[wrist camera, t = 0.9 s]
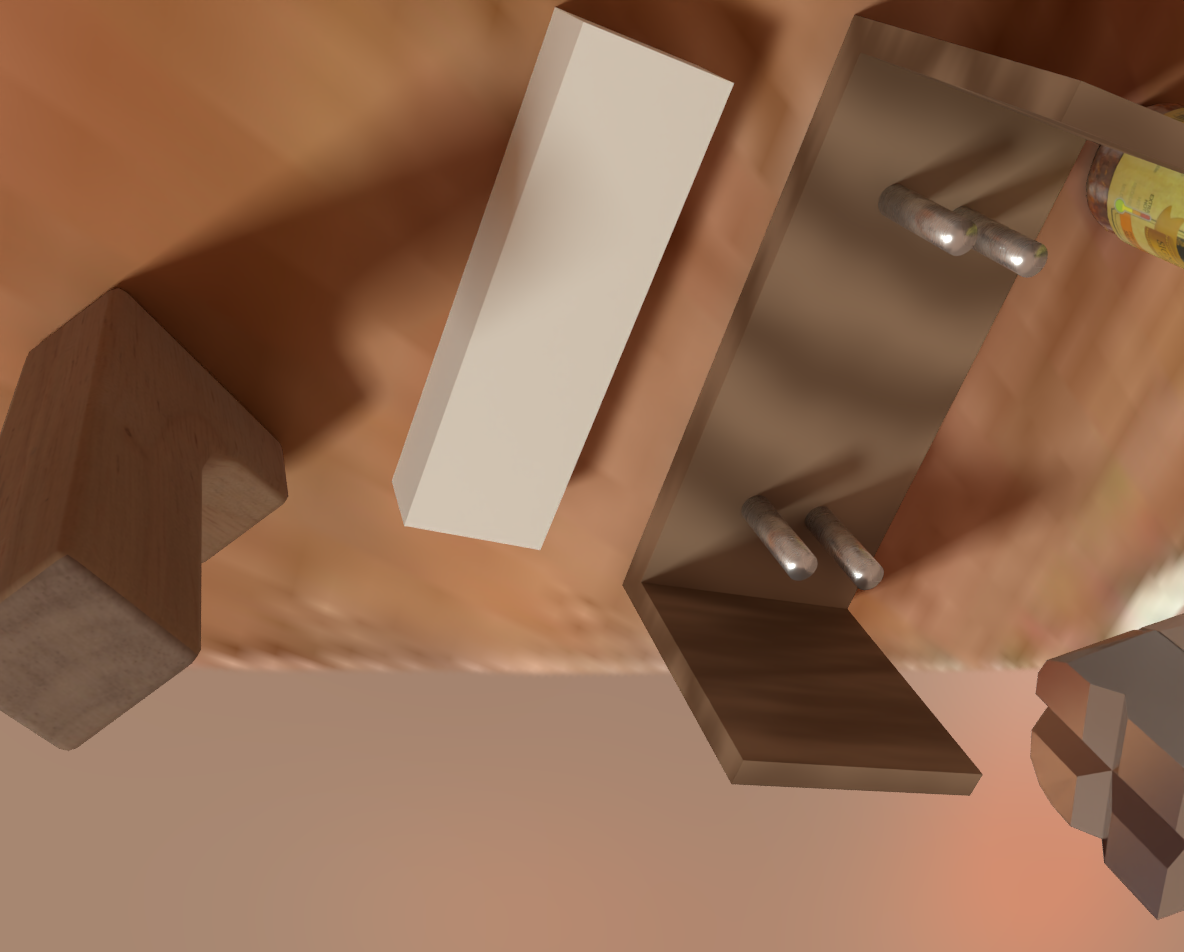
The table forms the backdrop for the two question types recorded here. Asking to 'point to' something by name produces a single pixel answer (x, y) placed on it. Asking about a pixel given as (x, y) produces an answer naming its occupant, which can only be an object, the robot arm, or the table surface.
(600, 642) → the table surface
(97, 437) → the wooden block
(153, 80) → the table surface
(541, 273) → the white rectangular block
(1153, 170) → the sauce bottle
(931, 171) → the brown open-topped frame
